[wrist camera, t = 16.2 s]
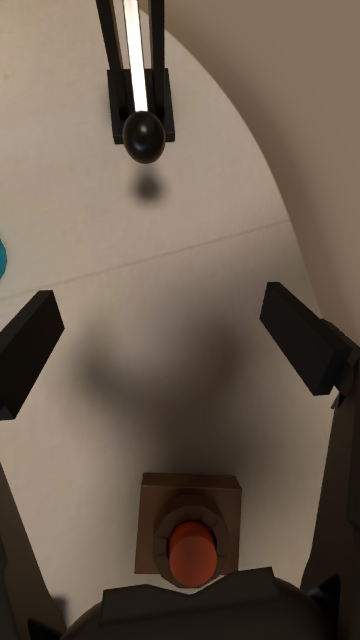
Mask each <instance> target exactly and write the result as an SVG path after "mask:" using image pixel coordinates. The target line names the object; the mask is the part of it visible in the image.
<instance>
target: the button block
mask: <svg viewBox="0 0 360 640" xmlns="http://www.w3.org/2000/svg"><path fill="white" fill-rule="evenodd" d="M241 497H242V488H241V486H240V484H239V482H238V480H237V478H236V477H235V476H213V475H186V474H159V473H143V478H142V484H141V495H140V508H139V520H138V533H137V546H136V559H135V571H134V573H135V574H160V575H161V576H162V577H163V578H164V579H166V580H167V581H169V582H170V583H172V584H173V585H175V586H176V587H178V588H201V587H202V586H204V585H206V584H207V583H209V582H211V581H212V580H214V579H216V578H217V577H218V576H219V575H228V574H230V573H231V572H236V571H238V560H239V539H240V518H241ZM189 520H195V521H199V522H201V523H203V524H204V525H205V526H206V527H207V528H208V529H209V530H210V532H211V534H212V538H213V542H214V546H215V550H216V555H217V564H216V568H215V571H214V573H213V575H212V576H211V578H210V579H209V580H208V581H207V582H205V583H204V584H202V585H199V586H195V587H189V586H185V585H183V584H181V583H179V582H178V581H177V580H176V579H175V578H174V576H173V574H172V572H171V569H170V561H169V542H170V537H171V535H172V533H173V531H174V530H175V528H176V527H177V526H178V525H180V524H181V523H183V522H185V521H189Z"/></svg>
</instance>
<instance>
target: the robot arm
mask: <svg viewBox="0 0 360 640" xmlns="http://www.w3.org/2000/svg"><path fill="white" fill-rule="evenodd" d="M259 319H260V321H261V322H262V323H263V325H264V326H265V328H266V329H267V330H268V332H269V333H270V335H271V336H272V338H273V339H274V340H275V342H276V343H277V345H278V346H279V348H280V349H281V350H282V352H283V353H284V355H285V356H286V357H287V359H288V360H289V362H290V363H291V365H292V366H293V367H294V369H295V370H296V372H297V373H298V375H299V376H300V377H301V379H302V380H303V382H304V383H305V384H306V386H307V387H308V389H309V390H310V392H311V393H312V394H313V396H318V395H329V394H330V392H331V390H332V388H333V386H335V387H336V388H337V389H338V391H339V394H338V395H337V397H336V399H335V401H334V403H333V405H332V406H331V409H334V407H335V409H334V415H333V422H332V428H331V434H330V440H329V446H328V452H327V458H326V464H325V470H324V476H323V482H322V488H321V494H320V500H319V507H318V513H317V519H316V525H315V531H314V537H313V543H312V549H311V553H310V557H309V560H308V562H307V565H306V567H305V570H304V573H303V577H302V581H301V586H300V589H299V588H297V587H296V586H294V585H292V584H291V583H289V582H286V581H284V580H282V579H279V578H276V577H274V574H273V570H272V567H265V568H257V569H250V570H243V571H236V572H231V573H230V574H228V575H226V576H224V577H223V578H221V579H219V580H217V581H216V582H214V583H212V584H211V585H209V586H207V587H205V588H204V589H202V590H200V591H198V592H197V593H195V594H192V595H188V594H184V593H180V592H176V591H172V590H168V589H164V588H160V587H156V586H152V585H149V584H143V585H136V586H129V587H121V588H114V589H107V590H104V591H103V599H102V601H101V602H100V603H98V604H96V605H95V606H93V607H92V608H91V609H89V610H88V611H86V612H85V613H84V614H83V615H82V616H81V617H80V618H79V619H77V620H76V621H75V622H74V623H73V624H72V625H71V627H70V628H69V629H68V630H67V629H66V627H65V624H64V622H63V619H62V617H61V614H60V612H59V610H58V608H57V606H56V604H55V602H54V601H53V599H52V597H51V596H50V594H49V592H48V590H47V588H46V585H45V583H44V580H43V577H42V574H41V572H40V569H39V566H38V563H37V561H36V558H35V555H34V553H33V550H32V547H31V544H30V542H29V539H28V536H27V533H26V531H25V528H24V525H23V523H22V520H21V517H20V514H19V512H18V509H17V506H16V504H15V501H14V498H13V495H12V493H11V490H10V487H9V484H8V482H7V479H6V476H5V474H4V471H3V468H2V465H1V463H0V640H360V347H359V346H358V345H356V344H355V343H354V342H353V341H352V340H351V339H349V338H348V337H347V336H345V334H344V333H343V332H341V331H339V329H338V328H337V327H335V326H334V325H333V324H332V323H330V322H328V321H326V320H324V319H320V318H318V317H317V316H316V315H315V314H314V313H313V312H312V311H311V310H310V309H308V308H307V307H306V306H305V305H304V304H303V303H302V302H301V301H300V300H299V299H297V298H296V297H295V296H294V295H293V294H292V293H291V292H290V291H289V290H287V289H286V288H285V287H284V286H283V285H282V284H281V283H280V282H267V287H266V291H265V296H264V300H263V305H262V309H261V314H260V318H259ZM64 329H65V328H64V325H63V321H62V318H61V315H60V312H59V309H58V306H57V303H56V299H55V296H54V293H53V290H41V291H38V292H37V293H36V294H35V295H34V296H33V297H32V299H31V300H30V301H29V302H28V303H27V304H26V305H25V306H24V307H23V308H22V309H21V310H20V311H19V313H18V314H17V315H16V316H15V317H14V318H13V319H12V320H11V321H10V322H9V323H8V324H7V325H6V326H5V328H4V329H3V330H2V331H1V332H0V420H13V419H15V418H16V416H17V414H18V412H19V411H20V409H21V407H22V405H23V403H24V402H25V400H26V398H27V396H28V394H29V393H30V391H31V389H32V387H33V385H34V383H35V382H36V380H37V378H38V376H39V374H40V373H41V371H42V369H43V367H44V365H45V363H46V362H47V360H48V358H49V356H50V354H51V353H52V351H53V349H54V347H55V345H56V343H57V342H58V340H59V338H60V336H61V334H62V333H63V331H64Z"/></svg>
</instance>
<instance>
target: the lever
mask: <svg viewBox="0 0 360 640" xmlns="http://www.w3.org/2000/svg"><path fill="white" fill-rule="evenodd" d="M122 1H123V10H124V19H125V28H126V37H127V46H128V55H129V64H130V73H131V82H132V91H133V100H134V109H135V112H134V113H132V114H131V115H130V116H129V117H128V118H127V120H126V122H125V124H124V128H123V142H124V146H125V148H126V150H127V152H128V153H129V155H130V156H131V157H132V158H133V159H134V160H136V161H137V162H139V163H143V164H149V163H152V162H155V161H156V160H157V159H158V158H159V157H160V156H161V155H162V153H163V150H164V147H165V132H164V128H163V126H162V124H161V122H160V120H159V119H158V118H157V117H156V116H155V115H154V114H152V113H151V112H148V102H147V91H146V80H145V69H144V59H143V48H142V37H141V27H140V16H139V5H138V0H122Z"/></svg>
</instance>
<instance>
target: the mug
mask: <svg viewBox="0 0 360 640" xmlns="http://www.w3.org/2000/svg"><path fill="white" fill-rule="evenodd" d="M5 265H6V252H5V248H4V246H3V244H2V242H1V240H0V278H1V276H2V275H3V273H4V270H5Z"/></svg>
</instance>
